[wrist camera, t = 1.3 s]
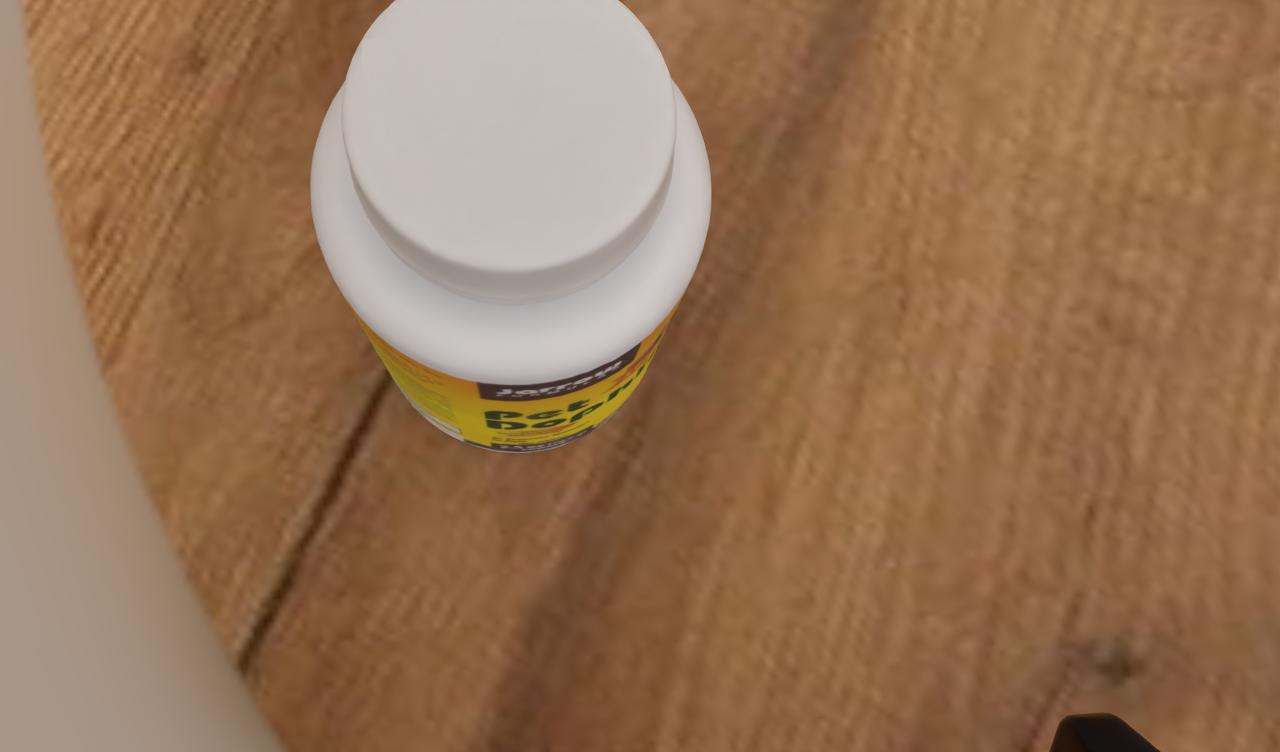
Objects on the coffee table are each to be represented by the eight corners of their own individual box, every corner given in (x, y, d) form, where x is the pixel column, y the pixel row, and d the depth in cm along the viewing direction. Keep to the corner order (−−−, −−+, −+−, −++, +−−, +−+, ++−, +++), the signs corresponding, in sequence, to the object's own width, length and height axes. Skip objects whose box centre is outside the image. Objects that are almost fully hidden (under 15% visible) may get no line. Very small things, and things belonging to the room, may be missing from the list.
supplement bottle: (481, 512, 22) (435, 436, 12) (331, 286, 23) (170, 37, 13) (709, 360, 23) (836, 175, 13) (558, 147, 24) (573, -183, 14)
